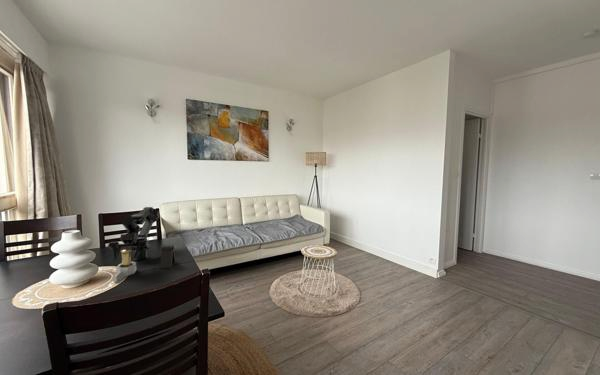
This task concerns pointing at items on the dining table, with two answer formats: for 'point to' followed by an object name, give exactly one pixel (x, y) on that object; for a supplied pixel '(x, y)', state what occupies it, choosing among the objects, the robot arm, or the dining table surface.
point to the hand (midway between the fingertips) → (124, 259)
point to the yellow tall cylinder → (126, 257)
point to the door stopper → (167, 257)
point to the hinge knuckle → (124, 271)
